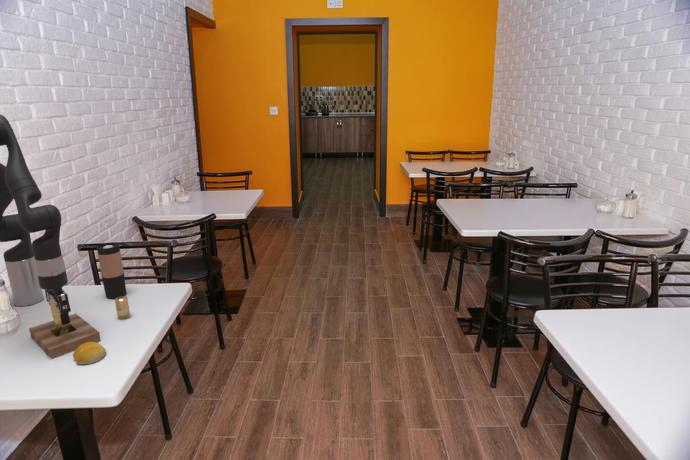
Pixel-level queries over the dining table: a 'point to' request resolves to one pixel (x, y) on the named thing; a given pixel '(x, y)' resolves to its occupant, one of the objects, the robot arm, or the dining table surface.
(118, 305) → the short pin
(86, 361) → the bread roll
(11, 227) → the robot arm
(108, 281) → the travel mug
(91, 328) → the hole board
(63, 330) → the tall pin
